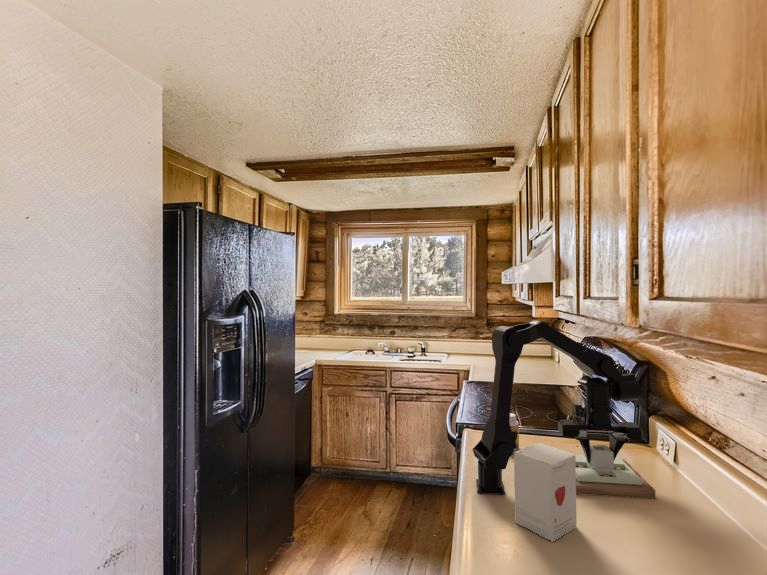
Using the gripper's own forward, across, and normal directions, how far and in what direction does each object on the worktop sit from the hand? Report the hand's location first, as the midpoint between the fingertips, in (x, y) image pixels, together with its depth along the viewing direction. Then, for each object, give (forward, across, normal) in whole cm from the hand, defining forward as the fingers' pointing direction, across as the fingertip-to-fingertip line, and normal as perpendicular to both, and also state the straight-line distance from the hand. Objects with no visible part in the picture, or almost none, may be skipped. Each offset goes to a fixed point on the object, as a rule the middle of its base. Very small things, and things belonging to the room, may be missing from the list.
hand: (599, 463), depth 106 cm
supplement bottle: (+4, +20, -19) cm, 28 cm away
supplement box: (+4, +18, +24) cm, 30 cm away
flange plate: (+2, 0, 0) cm, 2 cm away
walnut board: (+4, 0, 0) cm, 4 cm away
